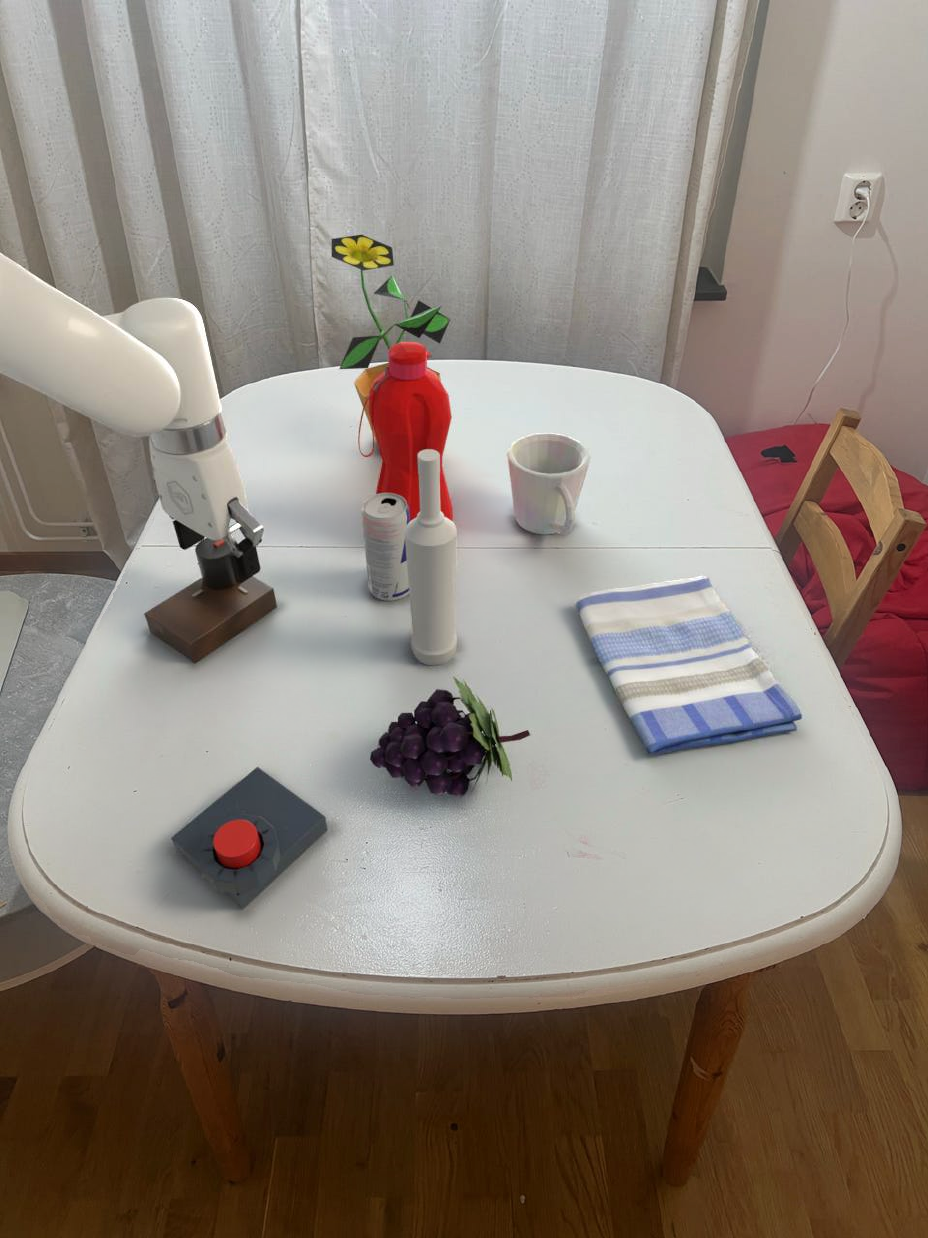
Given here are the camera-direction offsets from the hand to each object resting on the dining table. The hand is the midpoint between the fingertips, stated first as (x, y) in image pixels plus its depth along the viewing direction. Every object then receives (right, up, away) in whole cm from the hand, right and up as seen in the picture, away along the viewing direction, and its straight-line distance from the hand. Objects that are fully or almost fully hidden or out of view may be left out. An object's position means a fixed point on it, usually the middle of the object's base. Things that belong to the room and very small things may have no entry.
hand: (220, 559), depth 98 cm
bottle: (+25, -10, -3) cm, 27 cm away
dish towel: (+51, -12, -4) cm, 53 cm away
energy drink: (+19, -3, +5) cm, 20 cm away
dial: (0, -2, +2) cm, 2 cm away
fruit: (+27, -22, -15) cm, 38 cm away
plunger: (+9, -26, -26) cm, 38 cm away
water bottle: (+21, +5, +14) cm, 25 cm away
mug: (+39, +5, +14) cm, 42 cm away
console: (-1, -6, +2) cm, 6 cm away
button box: (+9, -27, -21) cm, 35 cm away
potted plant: (+19, +19, +30) cm, 40 cm away
